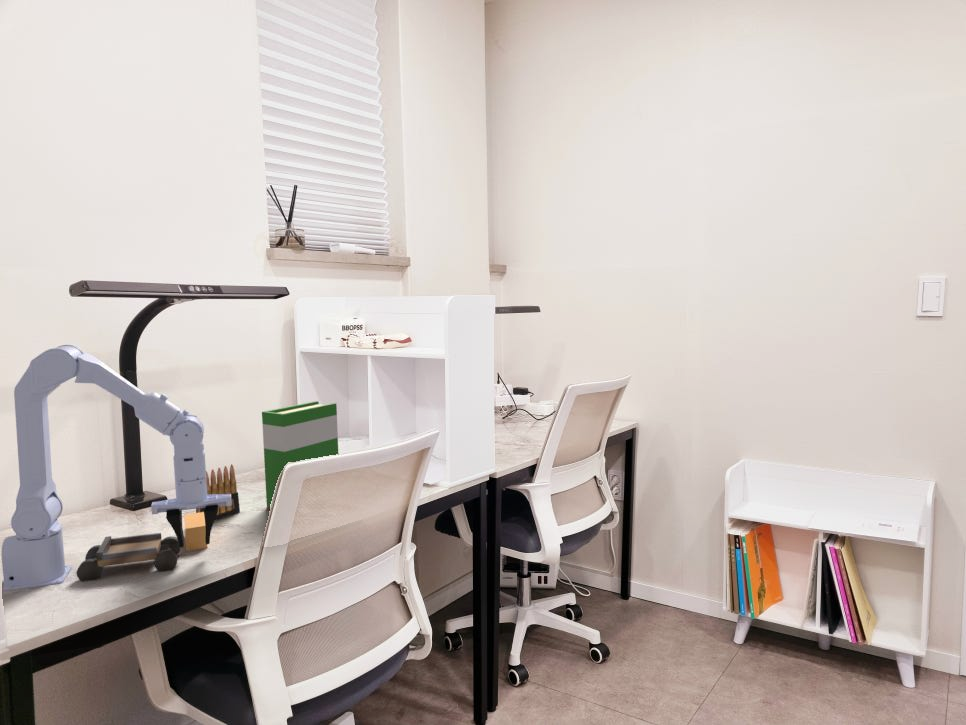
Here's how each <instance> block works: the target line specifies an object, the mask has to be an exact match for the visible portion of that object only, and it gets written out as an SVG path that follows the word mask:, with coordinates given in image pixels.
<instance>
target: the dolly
mask: <svg viewBox="0 0 966 725" xmlns="http://www.w3.org/2000/svg"><path fill="white" fill-rule="evenodd" d="M180 551H181V548H180V546H179V542H178V539H177V536H176V537H175V536H167V537H164V538H163V539H162V532H155V533H148V534H140V535H139V534H138V535H130V536H122V537H112V535H111V536H109V535H108V536H105V537H104V539H103V540H102V542H101V544H97V545H94V546H91V547H90V548H89V549H88V550H87V552H86V553H85V558H84V559H85V560H84V561H82V562H81V563H80V564H79V566H78V568H77V570H76V575H77V576H76V577H77V579H78V580H79V581H81V582H90V581H91V582H92V581H97V580H98V579H99V578H100V577H101V575H102V573H103V567H107V566H109V567H110V566H115V565H125V564H131V563H133V564H134V563H141V562H147V561H153V560H154V562H153V565H154V568H155V569H156V570H157V571H158V572H161V573H162V572H169V571H173V570H174V569H175V568H176V566H177V564H178V560H179V558H178V555H179V553H180Z"/></svg>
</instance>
